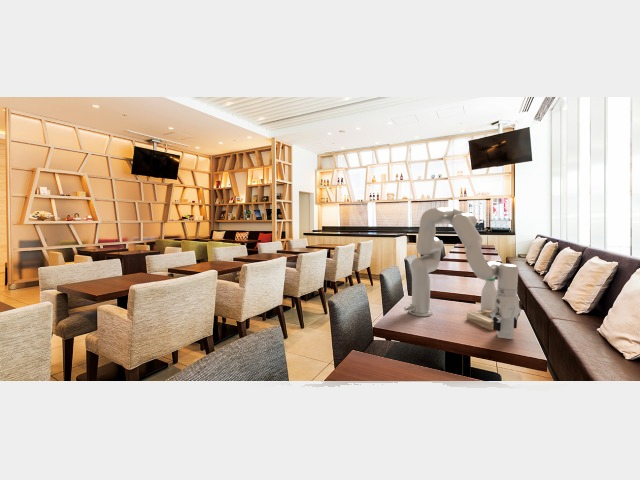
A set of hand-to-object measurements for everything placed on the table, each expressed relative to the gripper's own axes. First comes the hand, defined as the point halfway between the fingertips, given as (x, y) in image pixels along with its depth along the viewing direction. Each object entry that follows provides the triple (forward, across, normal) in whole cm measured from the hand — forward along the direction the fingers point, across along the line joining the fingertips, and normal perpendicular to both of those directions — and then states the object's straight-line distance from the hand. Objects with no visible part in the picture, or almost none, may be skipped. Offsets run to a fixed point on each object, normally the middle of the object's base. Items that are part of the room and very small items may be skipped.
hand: (504, 328), depth 135 cm
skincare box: (+4, 0, 0) cm, 4 cm away
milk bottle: (+4, +20, +27) cm, 34 cm away
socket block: (+4, +8, +15) cm, 17 cm away
